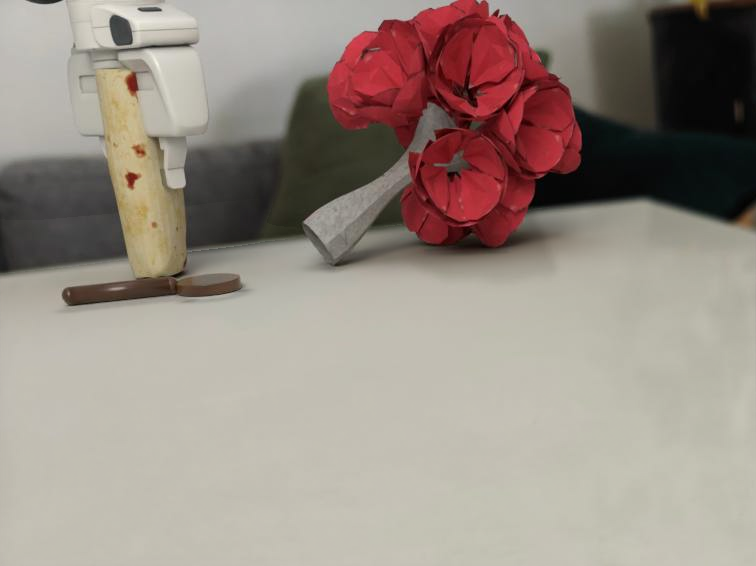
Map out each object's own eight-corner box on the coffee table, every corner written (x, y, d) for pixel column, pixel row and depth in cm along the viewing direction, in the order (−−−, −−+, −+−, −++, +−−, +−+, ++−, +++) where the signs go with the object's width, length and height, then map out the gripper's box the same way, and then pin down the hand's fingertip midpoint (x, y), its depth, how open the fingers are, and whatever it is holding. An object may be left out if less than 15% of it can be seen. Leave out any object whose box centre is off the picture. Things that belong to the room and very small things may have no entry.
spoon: (61, 311, 101) (57, 293, 101) (66, 299, 107) (62, 282, 106) (243, 292, 104) (240, 274, 104) (239, 281, 110) (236, 264, 109)
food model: (191, 281, 112) (154, 54, 102) (123, 286, 111) (78, 58, 102) (199, 265, 120) (165, 55, 111) (136, 270, 120) (96, 59, 110)
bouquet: (417, 347, 109) (646, 155, 112) (264, 127, 97) (524, -83, 100) (354, 324, 128) (552, 160, 130) (219, 137, 116) (439, -41, 118)
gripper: (39, 35, 110) (72, 187, 116) (145, 22, 97) (175, 194, 103) (99, 33, 114) (127, 179, 120) (208, 20, 100) (233, 185, 107)
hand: (150, 186), depth 112 cm, fingers open, 8 cm apart
